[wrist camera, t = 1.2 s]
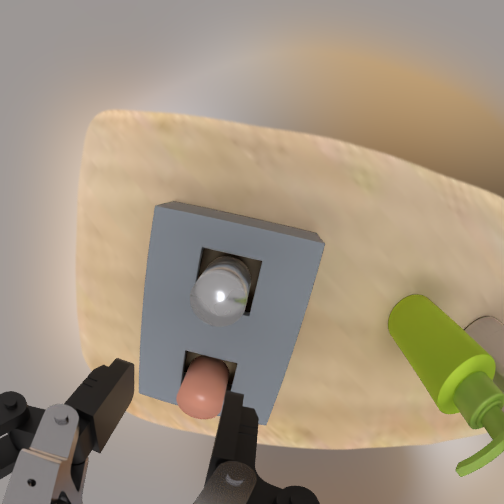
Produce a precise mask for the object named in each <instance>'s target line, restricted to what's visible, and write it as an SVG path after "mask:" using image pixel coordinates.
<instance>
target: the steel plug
mask: <svg viewBox="0 0 504 504" xmlns="http://www.w3.org/2000/svg"><path fill="white" fill-rule="evenodd" d="M250 285H251V275H250V272H249V269H248V268H247V266H246V265H245V264H244V263H243V262H242V261H241V260H239V259H237V258H234V257H230V256H223V257H219V258H217V259H215V260H213V261H212V262H211V263H210V264H209V265H208V267H207V268H206V269H205V271H204V272H203V273H202V275H201V276H200V277H199V279H198V280H197V282H196V283H195V284H194V286H193V287H192V290H191V293H190V304H191V307H192V310H193V311H194V313H195V314H196V316H197V317H198V318H199V319H200V320H202V321H203V322H205V323H206V324H209V325H212V326H216V327H224V326H228V325H231V324H233V323H235V322H236V321H238V320H239V319H240V318H241V316H242V315H243V313H244V311H245V307H246V303H247V298H248V294H249V289H250Z"/></svg>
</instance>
